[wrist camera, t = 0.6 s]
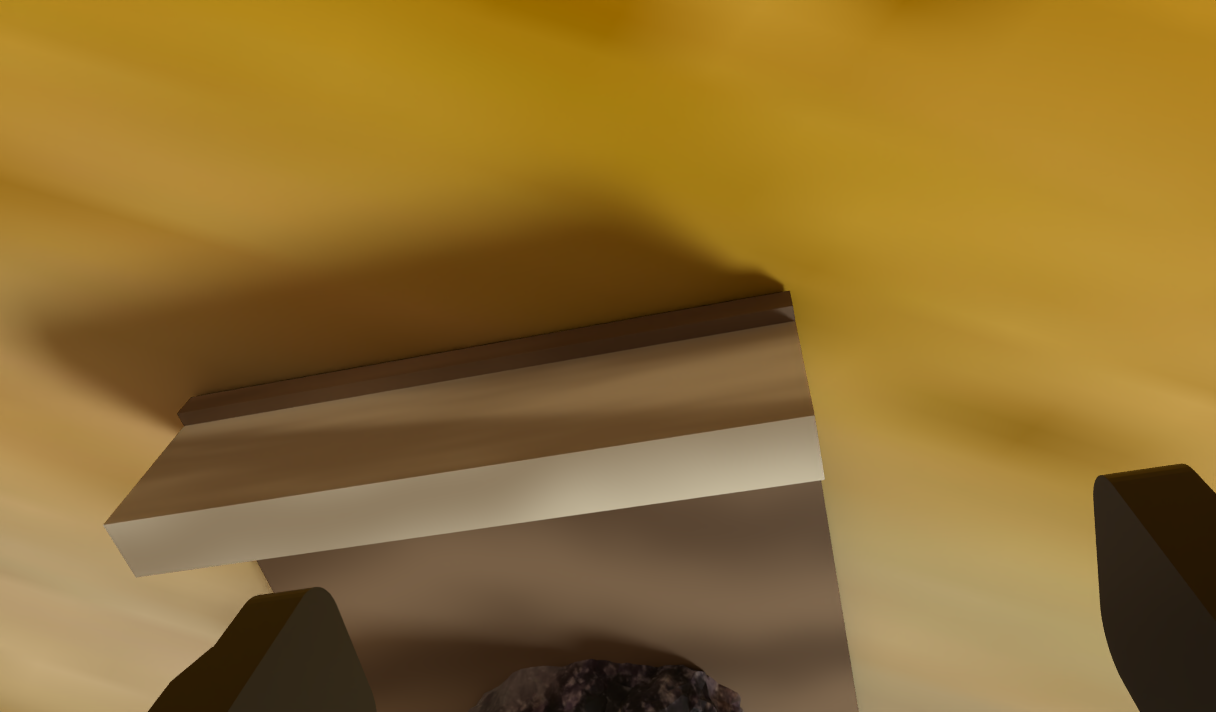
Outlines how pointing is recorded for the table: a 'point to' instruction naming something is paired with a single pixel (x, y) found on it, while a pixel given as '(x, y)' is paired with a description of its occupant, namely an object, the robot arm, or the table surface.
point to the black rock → (609, 690)
